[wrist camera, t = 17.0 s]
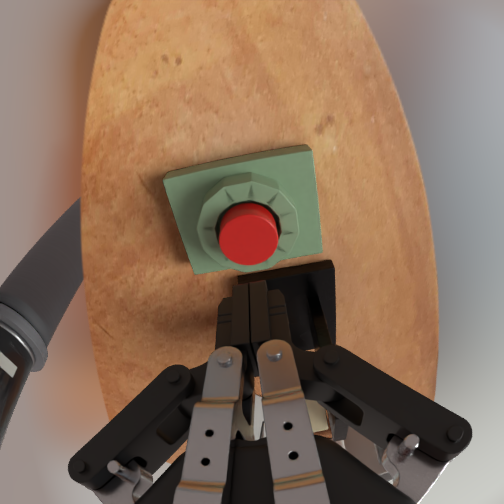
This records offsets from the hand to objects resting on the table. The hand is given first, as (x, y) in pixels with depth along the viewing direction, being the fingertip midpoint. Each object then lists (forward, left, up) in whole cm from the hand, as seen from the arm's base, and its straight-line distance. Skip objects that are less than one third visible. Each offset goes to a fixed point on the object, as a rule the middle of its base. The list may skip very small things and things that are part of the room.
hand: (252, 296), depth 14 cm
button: (0, 0, -7) cm, 7 cm away
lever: (+2, -15, -3) cm, 15 cm away
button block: (0, 0, -10) cm, 10 cm away
